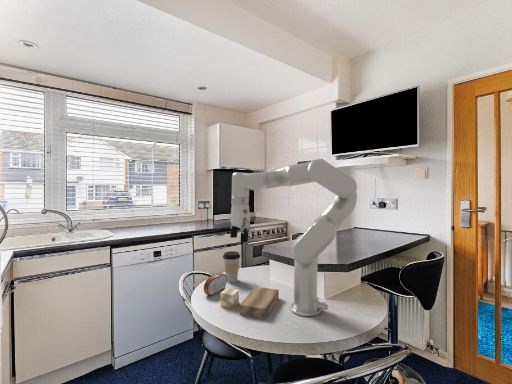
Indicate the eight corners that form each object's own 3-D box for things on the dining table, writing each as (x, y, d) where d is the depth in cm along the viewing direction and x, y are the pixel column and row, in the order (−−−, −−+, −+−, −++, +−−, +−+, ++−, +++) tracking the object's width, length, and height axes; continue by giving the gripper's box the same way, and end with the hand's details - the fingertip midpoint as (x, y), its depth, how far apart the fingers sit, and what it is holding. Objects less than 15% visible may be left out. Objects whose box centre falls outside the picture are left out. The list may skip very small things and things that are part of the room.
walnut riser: (278, 298, 130) (278, 289, 130) (265, 318, 111) (265, 308, 111) (256, 295, 134) (256, 286, 134) (239, 314, 115) (239, 304, 115)
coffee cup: (233, 276, 159) (233, 250, 158) (244, 281, 152) (243, 253, 151) (219, 280, 153) (219, 253, 152) (229, 285, 146) (229, 256, 145)
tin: (223, 286, 145) (222, 270, 144) (228, 287, 143) (227, 271, 143) (203, 297, 132) (203, 279, 132) (208, 298, 130) (208, 280, 130)
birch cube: (238, 302, 126) (238, 289, 126) (233, 308, 120) (233, 294, 120) (226, 300, 128) (226, 287, 128) (220, 306, 122) (220, 293, 122)
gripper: (257, 202, 118) (256, 243, 119) (238, 199, 133) (237, 235, 134) (241, 203, 114) (240, 245, 115) (223, 199, 129) (222, 236, 130)
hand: (238, 239), depth 124 cm, fingers open, 9 cm apart
